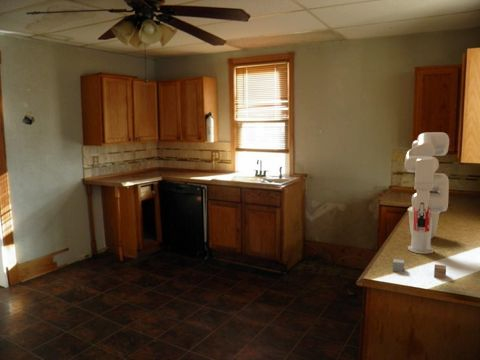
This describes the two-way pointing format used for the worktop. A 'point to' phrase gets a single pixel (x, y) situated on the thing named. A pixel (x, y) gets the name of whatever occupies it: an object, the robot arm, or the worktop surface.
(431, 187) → the robot arm
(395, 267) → the slate grey block
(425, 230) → the soda can
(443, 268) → the walnut block
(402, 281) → the worktop surface
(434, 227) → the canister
